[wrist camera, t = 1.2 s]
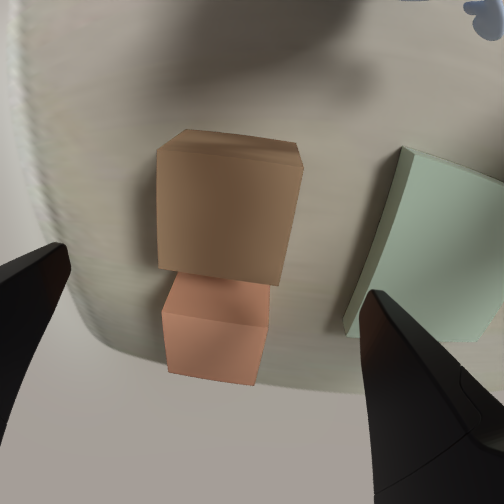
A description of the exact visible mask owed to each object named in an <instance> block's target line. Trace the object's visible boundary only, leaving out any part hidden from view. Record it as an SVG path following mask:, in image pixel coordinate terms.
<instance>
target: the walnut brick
mask: <svg viewBox="0 0 504 504" xmlns="http://www.w3.org/2000/svg"><path fill="white" fill-rule="evenodd" d="M303 170H304V167H303V163H302V160H301V157H300V154H299V151H298V148H297V145H296V143H293V142H287V141H280V140H274V139H267V138H261V137H253V136H246V135H238V134H229V133H220V132H211V131H200V130H188V129H186V130H184V131H183V132H181V133H180V134H178V135H177V136H176V137H174V138H173V139H171V140H170V141H168V142H167V143H166V144H164V145H163V146H162V147H160V148H159V149H157V177H156V204H157V245H158V267H159V269H165V270H171V271H178V272H184V273H190V274H197V275H203V276H210V277H217V278H224V279H230V280H237V281H244V282H251V283H258V284H266V285H273V286H279V282H280V277H281V273H282V269H283V264H284V260H285V255H286V251H287V246H288V242H289V237H290V232H291V228H292V223H293V219H294V214H295V209H296V204H297V200H298V195H299V190H300V185H301V180H302V175H303Z"/></svg>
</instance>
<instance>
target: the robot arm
mask: <svg viewBox="0 0 504 504" xmlns="http://www.w3.org/2000/svg"><path fill="white" fill-rule="evenodd" d="M70 272H71V264H70V259H69V255H68V250H67V247H66V245H65V244H63V243H58V242H53V243H50V244H48V245H46V246H44V247H41V248H39V249H37V250H34V251H32V252H30V253H27V254H25V255H23V256H21V257H18V258H16V259H15V260H12V261H10V262H8V263H6V264H3V265H1V266H0V445H1V442H2V439H3V435H4V432H5V429H6V426H7V422H8V419H9V416H10V413H11V410H12V408H13V405H14V402H15V399H16V397H17V394H18V391H19V389H20V386H21V384H22V381H23V379H24V376H25V374H26V371H27V369H28V367H29V364H30V362H31V360H32V358H33V355H34V353H35V351H36V349H37V346H38V344H39V342H40V340H41V338H42V336H43V334H44V332H45V330H46V327H47V325H48V323H49V321H50V319H51V317H52V315H53V313H54V311H55V308H56V306H57V304H58V301H59V299H60V296H61V294H62V291H63V289H64V287H65V284H66V282H67V280H68V278H69V275H70ZM359 331H360V353H361V367H362V374H363V381H364V389H365V396H366V405H367V412H368V422H369V432H370V442H371V454H372V468H373V484H374V494H375V495H374V504H504V406H503V405H502V404H501V403H500V402H499V401H498V400H497V399H496V398H495V397H494V396H492V394H490V393H489V392H488V391H487V390H486V389H485V388H484V387H483V386H482V385H481V384H480V383H479V382H478V381H477V380H476V379H475V378H474V377H473V376H472V375H471V374H470V373H469V372H468V371H467V370H466V369H465V368H464V367H463V366H461V364H460V363H459V362H458V361H457V360H456V359H455V358H454V357H453V356H452V355H451V354H450V353H449V352H448V351H447V350H446V349H445V348H444V347H443V346H442V345H441V344H440V343H439V342H438V341H437V340H436V339H435V338H434V337H433V336H432V335H431V334H430V333H429V332H428V331H427V330H425V329H424V328H423V327H422V326H421V325H420V324H419V323H418V322H417V321H416V320H415V319H414V318H413V317H412V316H411V315H410V314H409V313H408V312H406V311H405V310H404V309H403V308H402V307H401V306H400V305H399V304H398V303H397V302H396V301H395V300H393V299H392V298H391V297H390V296H389V295H388V294H387V293H386V292H385V291H383V290H376V289H371V290H369V292H368V293H367V295H366V298H365V300H364V302H363V305H362V307H361V309H360V312H359Z"/></svg>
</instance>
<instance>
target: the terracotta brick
mask: <svg viewBox="0 0 504 504" xmlns="http://www.w3.org/2000/svg"><path fill="white" fill-rule="evenodd" d="M269 297H270V285H266V284H258V283H251V282H244V281H237V280H230V279H224V278H217V277H210V276H203V275H197V274H190V273H184V272H178V273H177V276H176V278H175V280H174V283H173V285H172V287H171V290H170V292H169V295H168V297H167V299H166V302H165V304H164V307H163V309H162V322H163V332H164V341H165V350H166V358H167V366H168V372H169V373H174V374H180V375H185V376H190V377H196V378H202V379H208V380H214V381H220V382H227V383H235V384H243V385H250V386H254V385H255V381H256V377H257V373H258V369H259V365H260V361H261V357H262V353H263V348H264V344H265V340H266V336H267V332H268V324H269Z"/></svg>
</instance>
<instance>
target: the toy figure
mask: <svg viewBox="0 0 504 504" xmlns="http://www.w3.org/2000/svg"><path fill="white" fill-rule="evenodd" d="M401 1H427V0H401ZM463 8H464V11H465V12H466V13H467V14H469V15H476V17H475V18H474V20H473V28H474V30H475V31H476V32H477V34H478V35H479V36H481V37H482V38H484V39H486V40H489V41H495V40H498V39H500V38H501V37H502V36H503V34H504V6H503V3H502V0H484V1H470V2H466V3H464V5H463Z"/></svg>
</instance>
